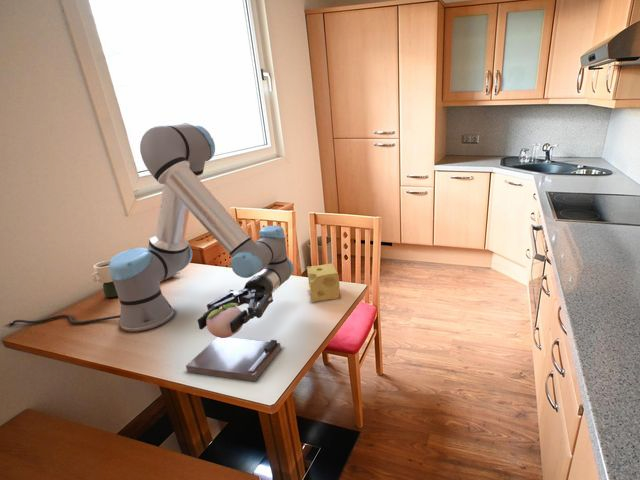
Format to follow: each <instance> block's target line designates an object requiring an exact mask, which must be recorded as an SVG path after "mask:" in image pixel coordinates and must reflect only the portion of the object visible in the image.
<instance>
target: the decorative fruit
mask: <svg viewBox="0 0 640 480" xmlns="http://www.w3.org/2000/svg"><path fill="white" fill-rule="evenodd" d="M237 305H239V304H237V303H229V304H226V305H223V304H222V306H221V307H220V308H219V309H216V310H213V311H212V312H211V313H210V314H209V315H208V317H207V319H206V320H207V321H206V329H207V331H208V332H209V333H210V334H211V335H213V336H214V337H216V338H217V337H219V338H228V337H230V338H231V337H232V336H234V335H236V333H239V331H240V330H241V329H242V327H243V325H244V324H243V325H242V326H241V327H240V328H239V329H238V330H237V331H236V332H235V333H232V332H231V327H230V322H231V321H233V320H234V319H235V318H236V317H237V316H238V315H239V314H240V313H241V312H243V311H242V310H241V309H240V308H239V307H238V306H237Z"/></svg>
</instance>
